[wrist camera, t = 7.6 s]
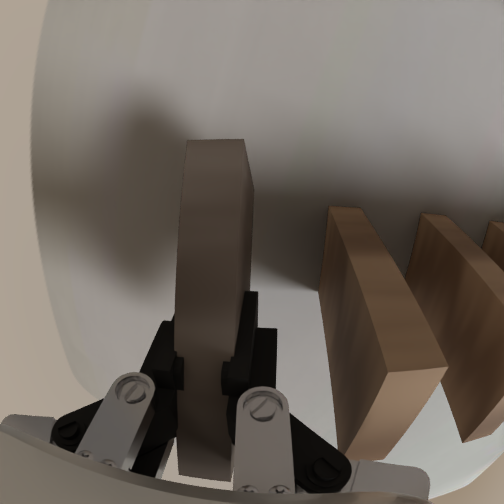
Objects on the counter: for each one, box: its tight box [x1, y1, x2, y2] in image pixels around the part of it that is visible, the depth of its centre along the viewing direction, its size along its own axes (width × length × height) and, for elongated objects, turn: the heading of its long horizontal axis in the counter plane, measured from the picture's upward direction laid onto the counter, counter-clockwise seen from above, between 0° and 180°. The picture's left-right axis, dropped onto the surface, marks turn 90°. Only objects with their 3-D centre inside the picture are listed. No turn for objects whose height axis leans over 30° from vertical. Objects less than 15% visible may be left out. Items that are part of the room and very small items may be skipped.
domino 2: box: [318, 206, 449, 461], centre depth 11 cm, size 5×2×10 cm, turn 0°
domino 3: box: [405, 213, 504, 443], centre depth 11 cm, size 5×2×10 cm, turn 0°
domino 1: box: [174, 139, 254, 482], centre depth 10 cm, size 5×2×10 cm
